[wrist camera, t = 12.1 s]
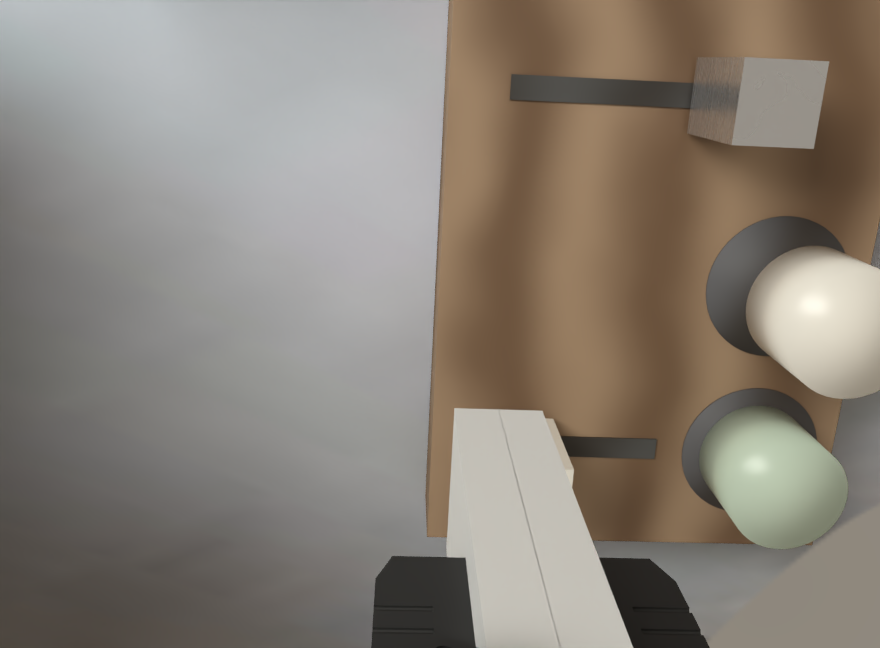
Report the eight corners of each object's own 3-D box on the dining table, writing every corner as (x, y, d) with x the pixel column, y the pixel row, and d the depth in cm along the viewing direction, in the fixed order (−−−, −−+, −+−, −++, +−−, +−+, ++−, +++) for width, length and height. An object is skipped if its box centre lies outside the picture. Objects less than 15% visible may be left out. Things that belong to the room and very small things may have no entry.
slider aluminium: (687, 133, 35) (731, 145, 30) (697, 57, 34) (744, 57, 29) (758, 136, 35) (813, 148, 30) (770, 60, 34) (829, 61, 29)
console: (425, 495, 44) (427, 537, 40) (450, -39, 36) (456, -51, 32) (777, 503, 45) (813, 546, 41) (876, -15, 37) (931, -24, 33)
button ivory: (737, 360, 35) (777, 397, 31) (756, 243, 34) (801, 266, 30) (853, 364, 35) (907, 400, 31) (877, 248, 34) (937, 271, 30)
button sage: (692, 501, 40) (722, 548, 36) (707, 403, 38) (740, 442, 34) (794, 503, 40) (835, 550, 36) (813, 407, 38) (858, 445, 35)
